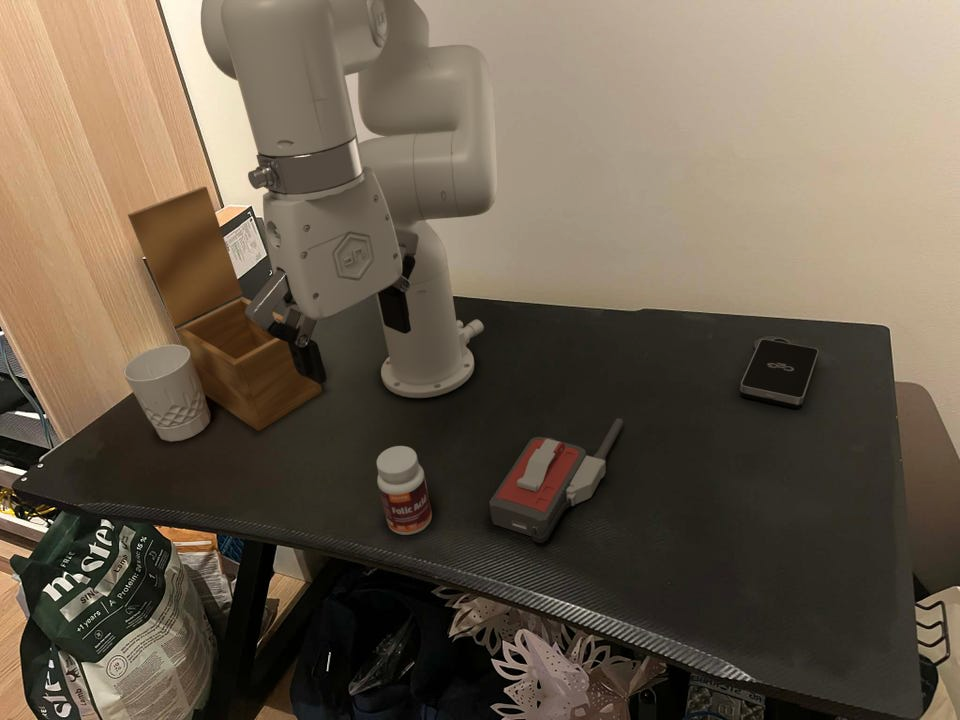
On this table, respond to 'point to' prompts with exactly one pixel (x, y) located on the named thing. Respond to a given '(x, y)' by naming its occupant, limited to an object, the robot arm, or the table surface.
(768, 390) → the external hard drive
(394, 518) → the pill bottle
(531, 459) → the walkie-talkie
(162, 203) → the caddy lid
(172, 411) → the white cup
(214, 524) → the table surface
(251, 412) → the box
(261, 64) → the robot arm
